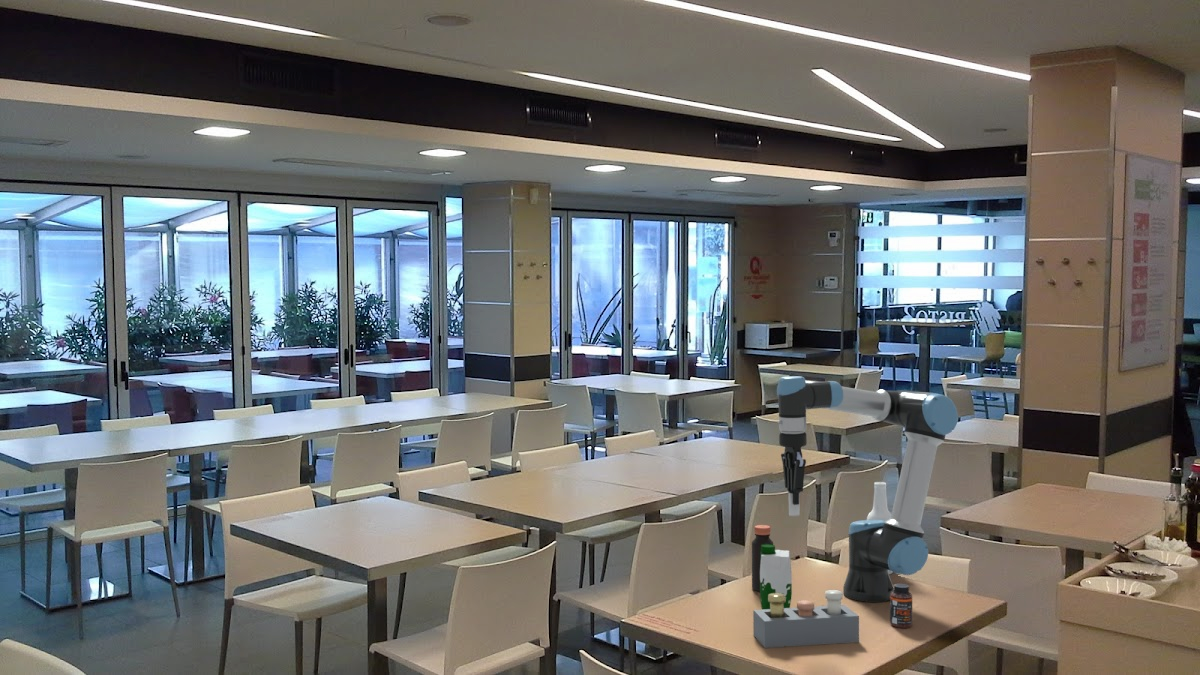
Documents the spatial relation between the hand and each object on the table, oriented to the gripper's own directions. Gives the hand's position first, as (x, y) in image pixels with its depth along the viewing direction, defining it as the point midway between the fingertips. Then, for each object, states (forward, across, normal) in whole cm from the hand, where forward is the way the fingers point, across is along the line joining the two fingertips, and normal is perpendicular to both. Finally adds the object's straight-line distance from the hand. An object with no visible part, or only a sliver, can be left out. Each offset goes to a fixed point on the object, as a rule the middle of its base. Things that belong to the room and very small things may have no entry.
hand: (794, 515), depth 282 cm
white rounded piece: (+26, +13, +6) cm, 30 cm away
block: (+31, +13, -2) cm, 33 cm away
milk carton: (+31, -9, -3) cm, 32 cm away
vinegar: (+31, -34, +2) cm, 46 cm away
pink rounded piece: (+28, +13, -2) cm, 31 cm away
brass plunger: (+26, +12, -10) cm, 30 cm away
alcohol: (+32, -46, +48) cm, 73 cm away
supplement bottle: (+32, +8, +28) cm, 43 cm away
